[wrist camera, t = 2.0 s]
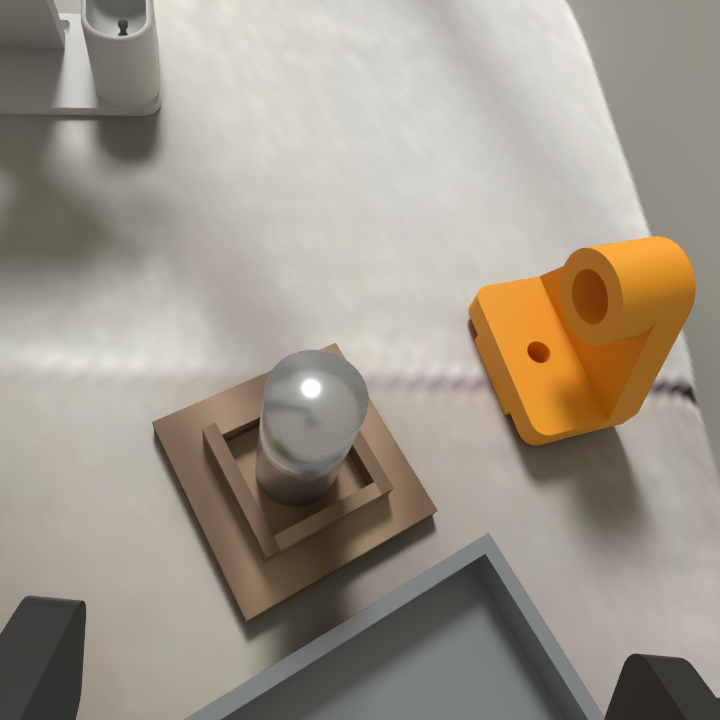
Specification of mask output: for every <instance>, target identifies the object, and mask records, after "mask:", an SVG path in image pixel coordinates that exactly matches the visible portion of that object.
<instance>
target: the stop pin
mask: <svg viewBox="0 0 720 720" xmlns="http://www.w3.org/2000/svg"><path fill="white" fill-rule="evenodd" d="M368 402H369V399H368V392H367V387H366V385H365V382H364V380H363V378H362V376H361V375H360V373H359V372H358V371H357V370H356V368H355V367H354V366H353V365H352V364H350V363H349V362H348V361H346V360H345V359H344V358H342V357H340V356H338V355H336V354H333V353H330V352H326V351H320V350H307V351H301V352H297V353H294V354H292V355H290V356H288V357H286V358H284V359H283V360H282V361H280V362H279V363H278V364H277V365H276V366H275V367H274V368H273V369H272V371H271V372H270V374H269V376H268V378H267V380H266V383H265V386H264V393H263V402H262V410H261V419H260V427H259V436H258V445H257V453H256V462H255V472H256V477H257V481H258V483H259V485H260V487H261V488H262V490H263V491H264V492H265V494H266V495H267V496H268V497H270V498H271V499H272V500H274V501H276V502H277V503H279V504H282V505H285V506H290V507H302V506H307V505H310V504H312V503H315V502H316V501H318V500H320V499H321V498H322V497H323V496H324V495H325V494H326V493H327V492H328V491H329V489H330V488H331V486H332V484H333V482H334V480H335V478H336V476H337V474H338V472H339V470H340V468H341V466H342V464H343V462H344V460H345V458H346V456H347V454H348V452H349V450H350V448H351V446H352V444H353V442H354V440H355V438H356V436H357V434H358V432H359V430H360V428H361V425H362V423H363V421H364V419H365V417H366V414H367V410H368Z"/></svg>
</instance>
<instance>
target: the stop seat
mask: <svg viewBox="0 0 720 720" xmlns="http://www.w3.org/2000/svg"><path fill="white" fill-rule="evenodd" d="M320 351H326V352H330V353H333V354H336V355H338V356H340V357H342V358H344V359H345V357H344V356H343V354H342V352H341V351H340V349H339V348H338V346H337V344H336V343H334V344H332V345H330V346H327V347H325V348H323V349H321V350H320ZM345 360H346V359H345ZM270 372H271V371H270ZM270 372H267V373H265V374H263V375H260V376H258V377H256V378H253V379H251V380H249V381H246V382H244V383H242V384H240V385H237V386H235V387H233V388H230V389H228V390H226V391H223V392H221V393H219V394H216V395H214V396H212V397H209V398H207V399H205V400H203V401H200V402H198V403H196V404H193V405H191V406H189V407H186V408H184V409H182V410H179V411H177V412H175V413H172V414H170V415H168V416H165V417H163V418H161V419H159V420H156V421H154V422H152V424H153V427H154V430H155V432H156V434H157V436H158V438H159V440H160V442H161V445H162V447H163V449H164V451H165V453H166V455H167V457H168V459H169V461H170V463H171V466H172V468H173V470H174V472H175V474H176V476H177V478H178V480H179V482H180V484H181V487H182V489H183V491H184V493H185V495H186V497H187V499H188V501H189V503H190V506H191V508H192V510H193V512H194V514H195V516H196V518H197V520H198V522H199V524H200V527H201V529H202V531H203V533H204V535H205V537H206V539H207V541H208V543H209V545H210V548H211V550H212V552H213V554H214V556H215V558H216V560H217V562H218V564H219V567H220V569H221V571H222V573H223V575H224V577H225V579H226V581H227V583H228V585H229V588H230V590H231V592H232V594H233V596H234V598H235V600H236V602H237V604H238V606H239V609H240V611H241V613H242V615H243V617H244V619H245V621H246V622H248V621H250V620H252V619H253V618H255V617H257V616H259V615H260V614H262V613H264V612H265V611H267V610H269V609H271V608H272V607H274V606H276V605H278V604H279V603H281V602H283V601H284V600H286V599H288V598H290V597H291V596H293V595H295V594H297V593H298V592H300V591H302V590H303V589H305V588H307V587H309V586H310V585H312V584H314V583H316V582H317V581H319V580H321V579H322V578H324V577H326V576H328V575H329V574H331V573H333V572H335V571H336V570H338V569H340V568H342V567H343V566H345V565H347V564H348V563H350V562H352V561H354V560H355V559H357V558H359V557H361V556H362V555H364V554H366V553H367V552H369V551H371V550H373V549H374V548H376V547H378V546H380V545H381V544H383V543H385V542H386V541H388V540H390V539H392V538H393V537H395V536H397V535H399V534H400V533H402V532H404V531H405V530H407V529H409V528H411V527H412V526H414V525H416V524H418V523H419V522H421V521H423V520H425V519H426V518H428V517H430V516H431V515H433V514H434V513H435V512H436V511H437V509H436V507H435V506H434V504H433V502H432V501H431V499H430V497H429V496H428V494H427V492H426V491H425V489H424V488H423V486H422V484H421V483H420V481H419V479H418V478H417V476H416V474H415V473H414V471H413V469H412V468H411V466H410V464H409V463H408V461H407V460H406V458H405V456H404V455H403V453H402V451H401V450H400V448H399V446H398V445H397V443H396V441H395V440H394V438H393V436H392V435H391V433H390V432H389V430H388V428H387V427H386V425H385V423H384V422H383V420H382V418H381V417H380V415H379V413H378V412H377V410H376V408H375V407H374V405H373V404H372V402H371V400H370V399H369V397H368V399H369V402H368V410H367V414H366V417H365V419H364V421H363V423H362V425H361V428H360V430H359V432H358V434H357V436H356V438H355V440H354V442H353V444H352V446H351V448H350V450H349V452H348V454H347V456H346V458H345V460H344V462H343V464H342V466H341V468H340V470H339V472H338V474H337V476H336V478H335V480H334V482H333V484H332V486H331V488H330V489H329V491H328V492H327V493H326V494H325V495H324V496H323V497H322V498H321V499H320V500H318V501H316V502H315V503H312V504H310V505H307V506H302V507H290V506H285V505H282V504H279V503H277V502H276V501H274V500H272V499H271V498H270V497H268V496H267V495H266V494H265V492H264V491H263V490H262V488H261V487H260V485H259V483H258V481H257V477H256V472H255V462H256V453H257V445H258V436H259V427H260V419H261V410H262V402H263V393H264V386H265V383H266V380H267V378H268V376H269V374H270Z"/></svg>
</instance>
